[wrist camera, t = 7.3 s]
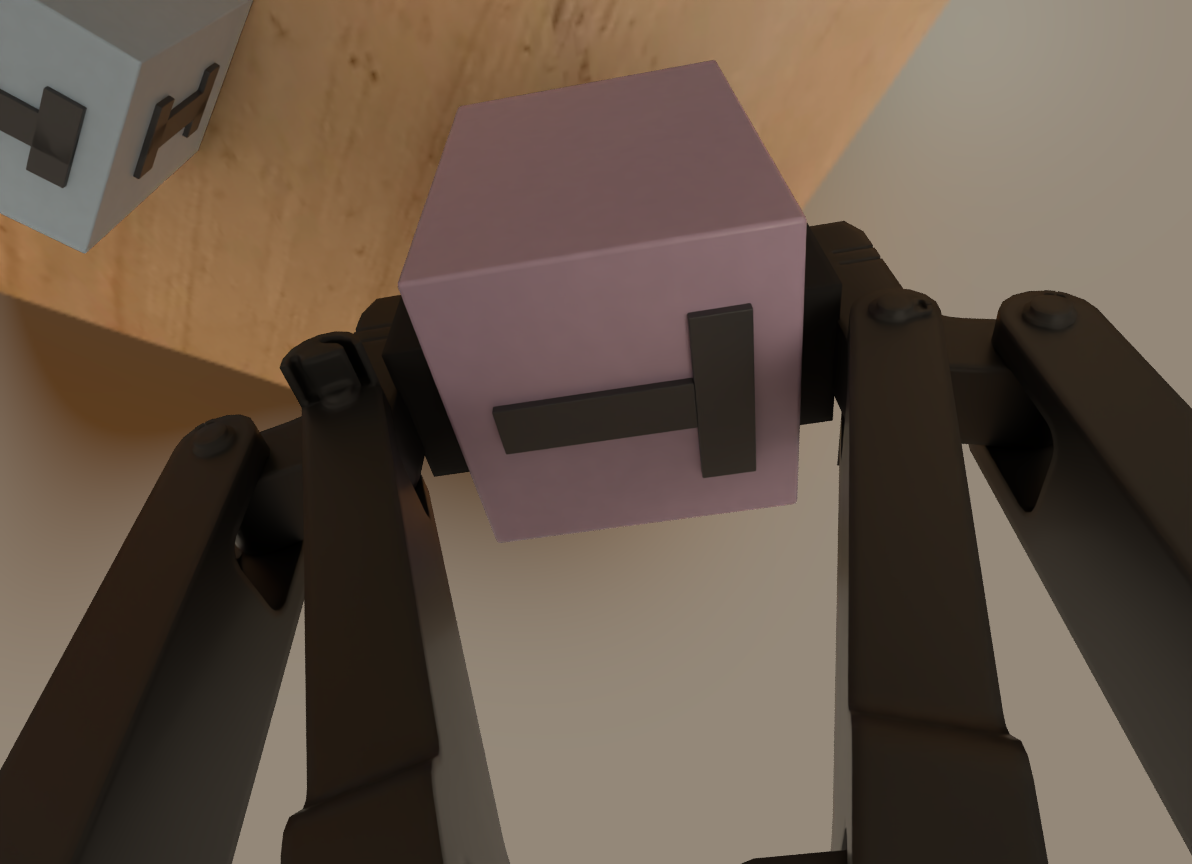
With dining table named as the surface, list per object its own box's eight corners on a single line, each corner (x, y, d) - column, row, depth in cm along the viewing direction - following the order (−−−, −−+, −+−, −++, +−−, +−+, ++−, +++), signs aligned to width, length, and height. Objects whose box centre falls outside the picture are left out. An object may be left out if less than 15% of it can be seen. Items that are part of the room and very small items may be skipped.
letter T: (450, 107, 15) (382, 292, 10) (716, 58, 15) (811, 221, 9) (511, 323, 19) (488, 553, 13) (726, 289, 19) (800, 511, 13)
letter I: (202, 154, 24) (88, 261, 18) (11, 46, 22) (-188, 128, 16) (259, 0, 21) (145, 69, 16) (46, -142, 19) (-179, -124, 13)
